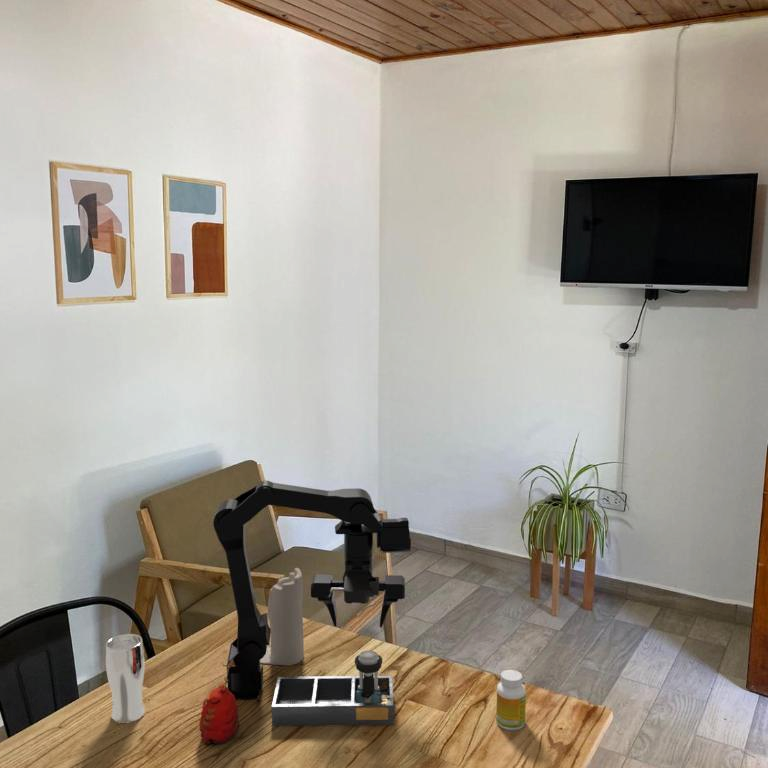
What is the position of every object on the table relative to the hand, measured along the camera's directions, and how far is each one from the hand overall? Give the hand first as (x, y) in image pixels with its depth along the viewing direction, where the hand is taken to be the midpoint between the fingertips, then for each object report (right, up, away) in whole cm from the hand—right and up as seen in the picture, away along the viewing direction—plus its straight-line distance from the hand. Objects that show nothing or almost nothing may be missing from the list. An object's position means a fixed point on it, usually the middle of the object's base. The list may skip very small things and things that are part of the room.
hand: (358, 626), depth 159 cm
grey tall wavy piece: (-19, -11, +14) cm, 26 cm away
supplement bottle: (+29, -15, -11) cm, 35 cm away
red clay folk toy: (-25, -16, -15) cm, 33 cm away
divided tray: (-4, -14, -7) cm, 16 cm away
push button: (+3, -13, -7) cm, 15 cm away
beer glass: (-44, -15, -9) cm, 47 cm away
